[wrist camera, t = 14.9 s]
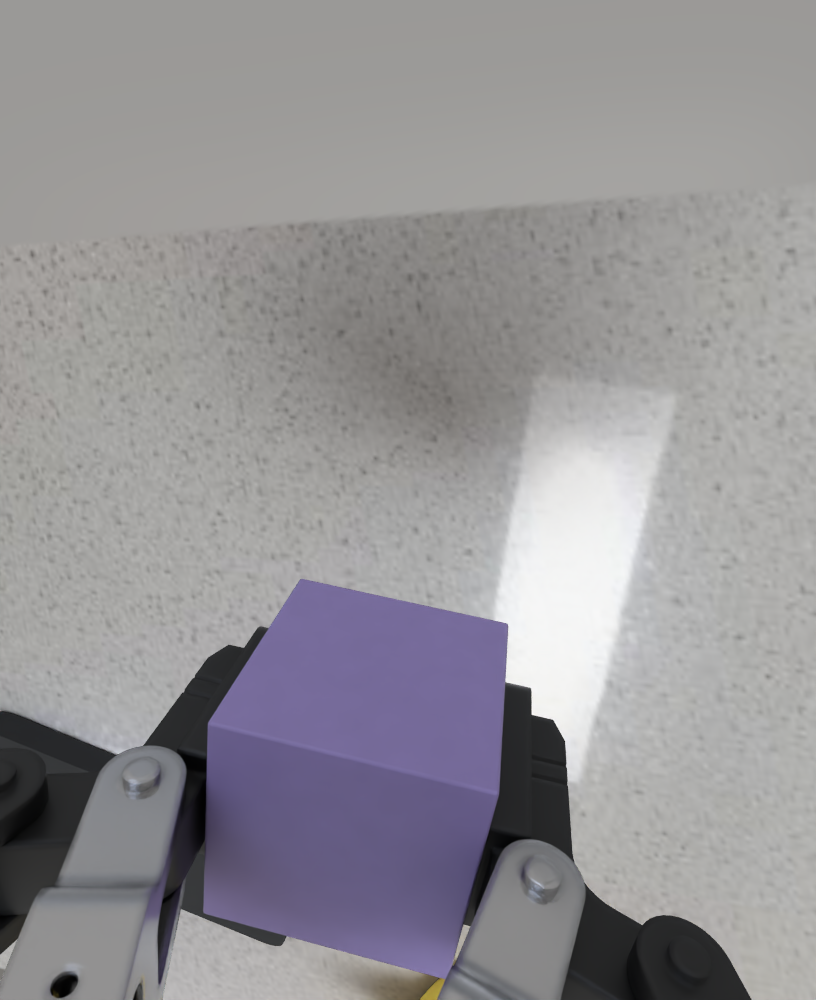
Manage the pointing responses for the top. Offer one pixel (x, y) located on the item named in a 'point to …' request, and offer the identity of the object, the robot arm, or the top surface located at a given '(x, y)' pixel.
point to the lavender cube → (357, 776)
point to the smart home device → (82, 757)
